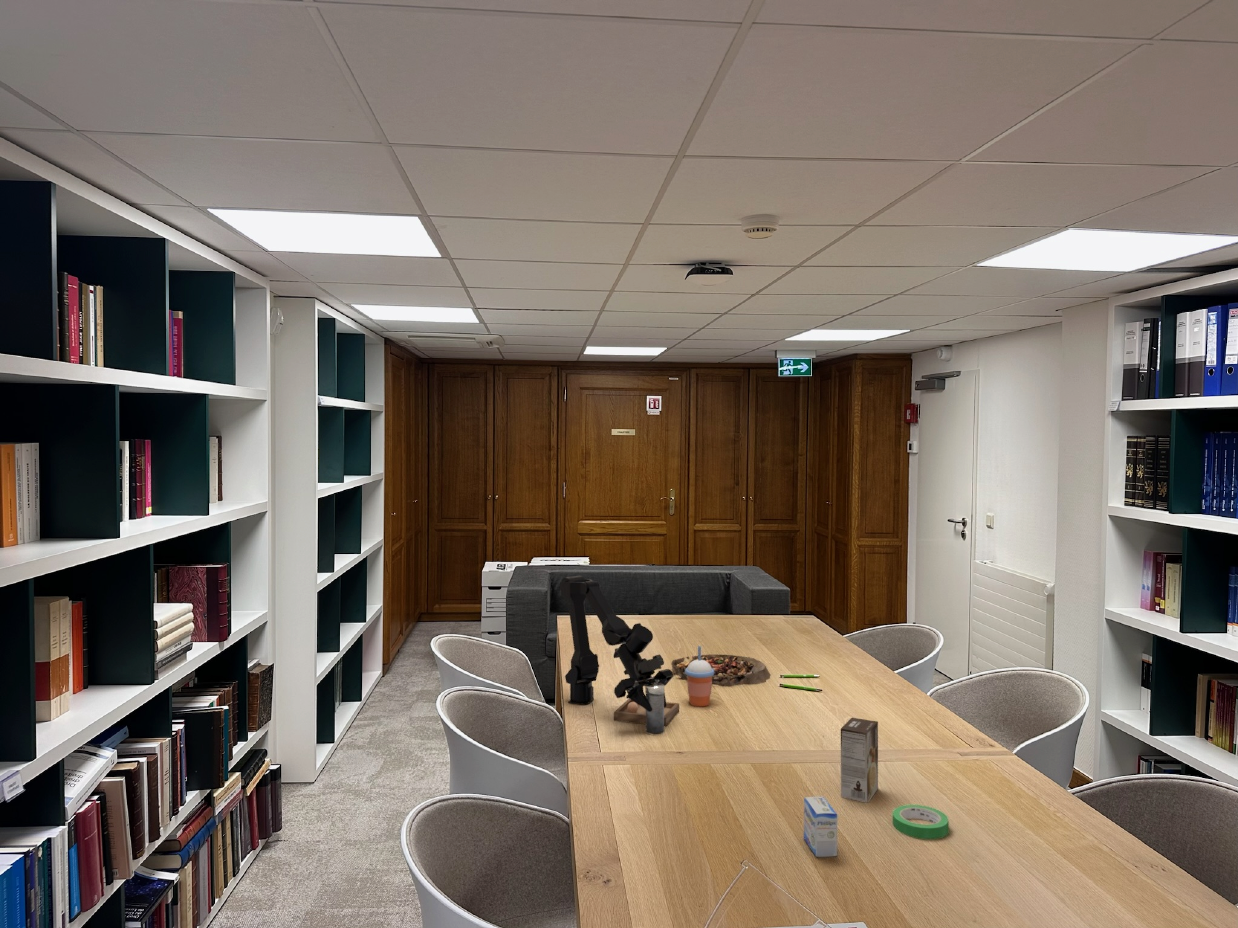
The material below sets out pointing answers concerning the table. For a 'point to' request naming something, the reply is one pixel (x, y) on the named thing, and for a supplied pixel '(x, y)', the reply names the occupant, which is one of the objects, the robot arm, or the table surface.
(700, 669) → the cup with straw
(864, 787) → the coffee box
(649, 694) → the shaker
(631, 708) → the ball
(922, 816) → the tape roll
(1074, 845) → the table surface
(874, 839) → the table surface
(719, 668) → the food dish
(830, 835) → the medicine box
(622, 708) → the tray
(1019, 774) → the table surface
